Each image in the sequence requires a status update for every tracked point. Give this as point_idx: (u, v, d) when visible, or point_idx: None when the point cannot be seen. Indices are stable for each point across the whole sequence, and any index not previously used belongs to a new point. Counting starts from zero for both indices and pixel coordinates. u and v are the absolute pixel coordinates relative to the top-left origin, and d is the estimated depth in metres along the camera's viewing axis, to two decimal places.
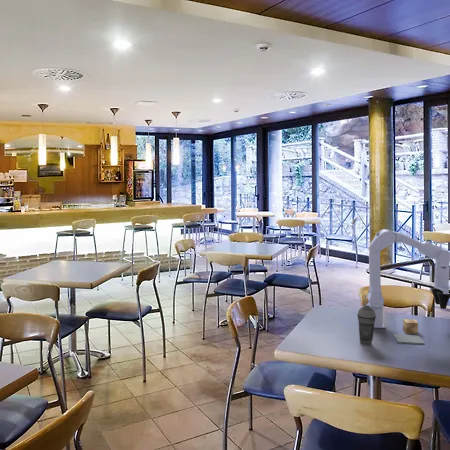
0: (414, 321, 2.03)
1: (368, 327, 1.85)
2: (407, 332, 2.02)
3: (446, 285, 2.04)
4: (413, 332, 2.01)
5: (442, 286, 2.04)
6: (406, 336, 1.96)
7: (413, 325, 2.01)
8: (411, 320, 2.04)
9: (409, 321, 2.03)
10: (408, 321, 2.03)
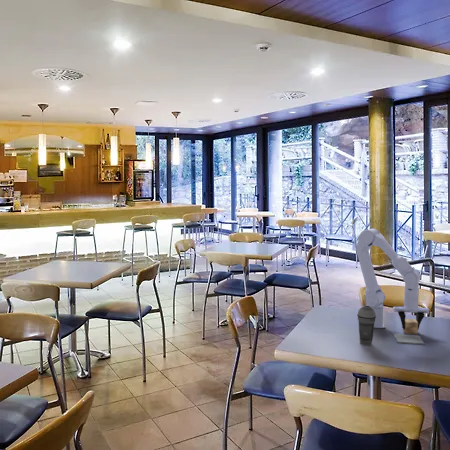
0: (414, 321, 2.03)
1: (368, 327, 1.85)
2: (407, 332, 2.02)
3: (405, 306, 2.02)
4: (413, 332, 2.01)
5: (403, 306, 2.04)
6: (406, 336, 1.96)
7: (413, 325, 2.01)
8: (411, 320, 2.04)
9: (409, 321, 2.03)
10: (408, 321, 2.03)
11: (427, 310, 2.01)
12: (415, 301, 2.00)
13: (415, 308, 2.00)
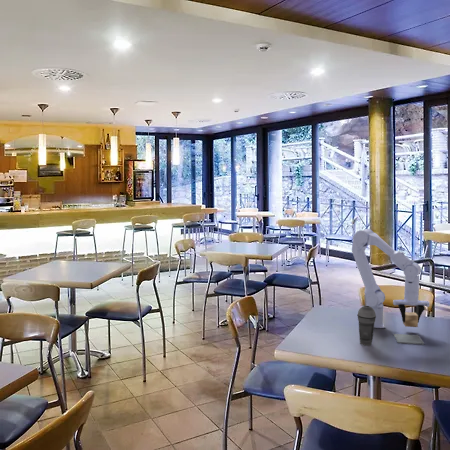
0: (414, 314, 2.03)
1: (368, 327, 1.85)
2: (407, 325, 2.02)
3: (406, 299, 2.02)
4: (413, 325, 2.01)
5: (404, 299, 2.04)
6: (406, 336, 1.96)
7: (413, 318, 2.01)
8: (412, 313, 2.03)
9: (409, 314, 2.02)
10: (408, 314, 2.03)
11: (427, 303, 2.01)
12: (415, 294, 2.00)
13: (415, 301, 2.00)
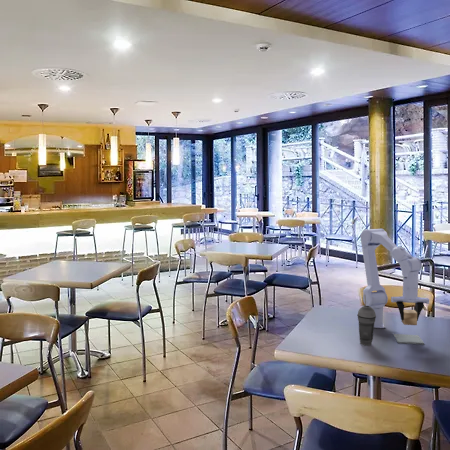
0: (413, 311, 1.92)
1: (368, 327, 1.85)
2: (406, 323, 1.91)
3: (404, 296, 1.91)
4: (412, 323, 1.91)
5: (402, 296, 1.93)
6: (406, 336, 1.96)
7: (412, 316, 1.90)
8: (410, 311, 1.93)
9: (408, 312, 1.92)
10: (407, 311, 1.92)
11: (427, 300, 1.90)
12: (414, 290, 1.89)
13: (414, 298, 1.90)
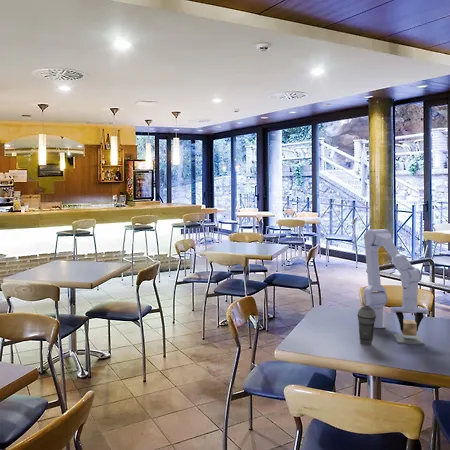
0: (413, 322, 1.92)
1: (368, 327, 1.85)
2: (405, 333, 1.91)
3: (404, 307, 1.92)
4: (412, 333, 1.91)
5: (402, 307, 1.93)
6: (406, 336, 1.96)
7: (411, 326, 1.91)
8: (410, 321, 1.93)
9: (408, 322, 1.92)
10: (406, 322, 1.92)
11: (426, 311, 1.90)
12: (414, 301, 1.90)
13: (414, 308, 1.90)
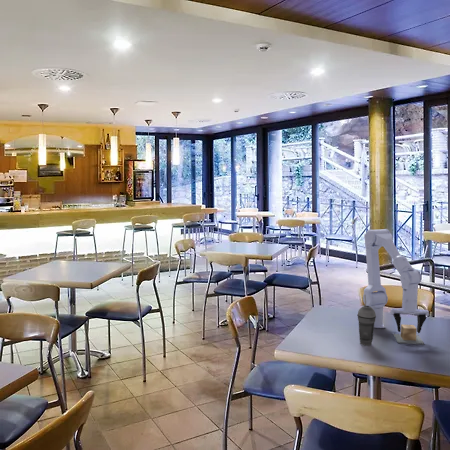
0: (412, 327, 1.93)
1: (368, 327, 1.85)
2: (405, 338, 1.92)
3: (404, 308, 1.92)
4: (411, 338, 1.91)
5: (402, 308, 1.93)
6: None
7: (411, 331, 1.91)
8: (410, 326, 1.93)
9: (407, 327, 1.92)
10: (406, 327, 1.93)
11: (426, 312, 1.91)
12: (414, 303, 1.90)
13: (414, 310, 1.90)
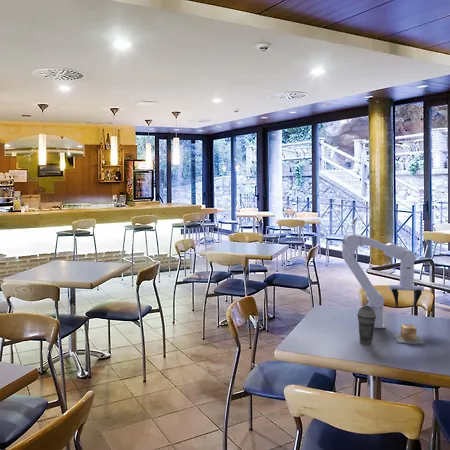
0: (412, 327, 1.93)
1: (368, 327, 1.85)
2: (405, 338, 1.92)
3: (401, 284, 2.09)
4: (411, 338, 1.91)
5: None
6: None
7: (411, 331, 1.91)
8: (410, 326, 1.93)
9: (407, 327, 1.92)
10: (406, 327, 1.93)
11: (422, 288, 2.08)
12: (410, 279, 2.07)
13: (410, 286, 2.07)
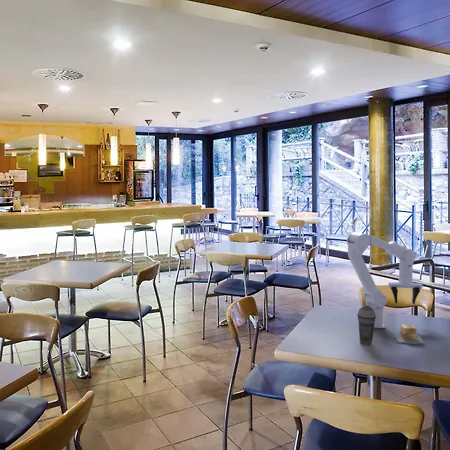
0: (412, 327, 1.93)
1: (368, 327, 1.85)
2: (405, 338, 1.92)
3: (400, 282, 2.14)
4: (411, 338, 1.91)
5: (398, 282, 2.16)
6: None
7: (411, 331, 1.91)
8: (410, 326, 1.93)
9: (407, 327, 1.92)
10: (406, 327, 1.93)
11: (420, 285, 2.13)
12: (409, 277, 2.12)
13: (409, 283, 2.12)
